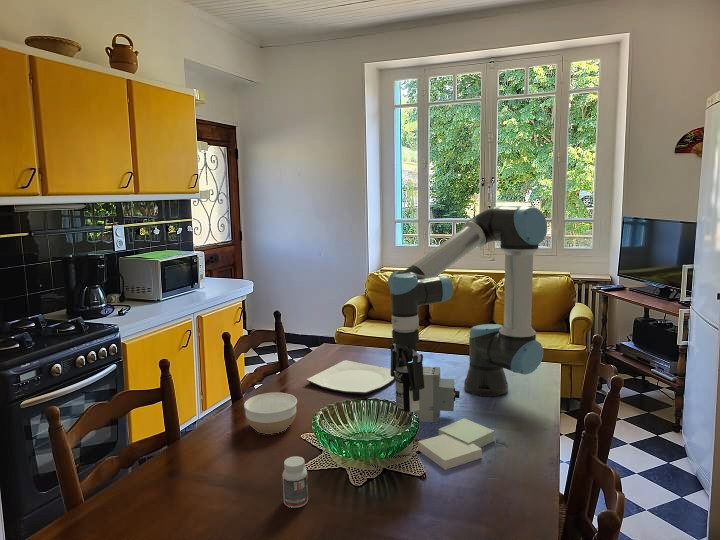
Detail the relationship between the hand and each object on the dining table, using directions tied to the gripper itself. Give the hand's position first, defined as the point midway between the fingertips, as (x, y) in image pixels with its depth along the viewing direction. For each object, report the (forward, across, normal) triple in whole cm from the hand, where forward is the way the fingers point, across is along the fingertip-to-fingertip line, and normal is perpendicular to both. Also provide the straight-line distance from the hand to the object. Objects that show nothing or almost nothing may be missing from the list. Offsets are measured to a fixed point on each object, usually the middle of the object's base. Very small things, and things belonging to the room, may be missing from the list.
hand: (407, 406), depth 152 cm
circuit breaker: (+9, -6, +14) cm, 18 cm away
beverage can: (+1, 0, 0) cm, 1 cm away
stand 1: (+9, +11, +12) cm, 19 cm away
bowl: (+8, -26, -33) cm, 43 cm away
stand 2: (+9, +15, +3) cm, 18 cm away
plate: (+10, -48, +7) cm, 50 cm away
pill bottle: (+8, +15, -41) cm, 44 cm away
